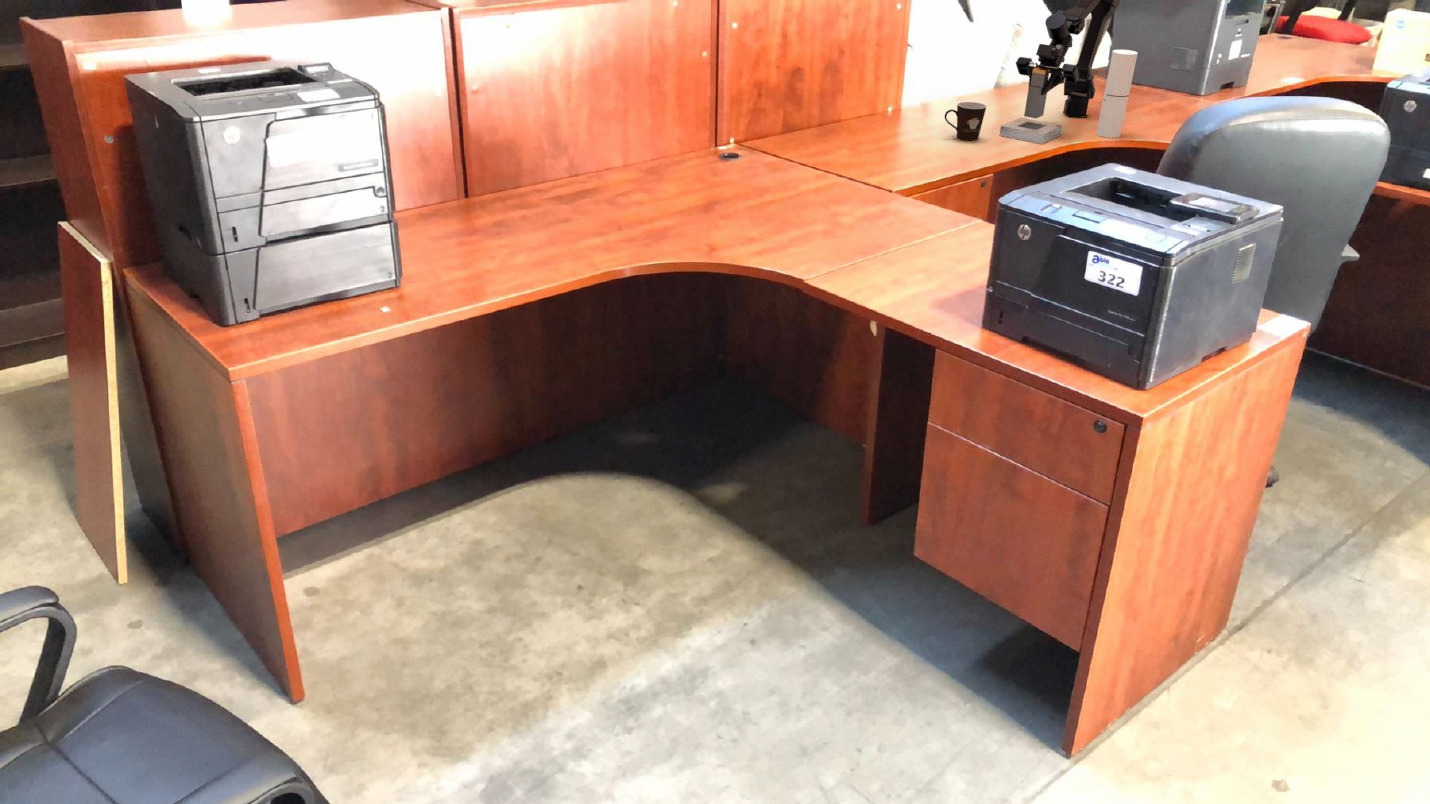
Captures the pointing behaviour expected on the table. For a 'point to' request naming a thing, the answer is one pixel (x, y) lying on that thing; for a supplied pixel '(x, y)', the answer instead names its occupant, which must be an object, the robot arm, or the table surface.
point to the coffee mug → (968, 120)
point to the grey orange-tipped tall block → (1036, 93)
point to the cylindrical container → (1116, 93)
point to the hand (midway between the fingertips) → (1035, 93)
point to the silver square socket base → (1031, 130)
